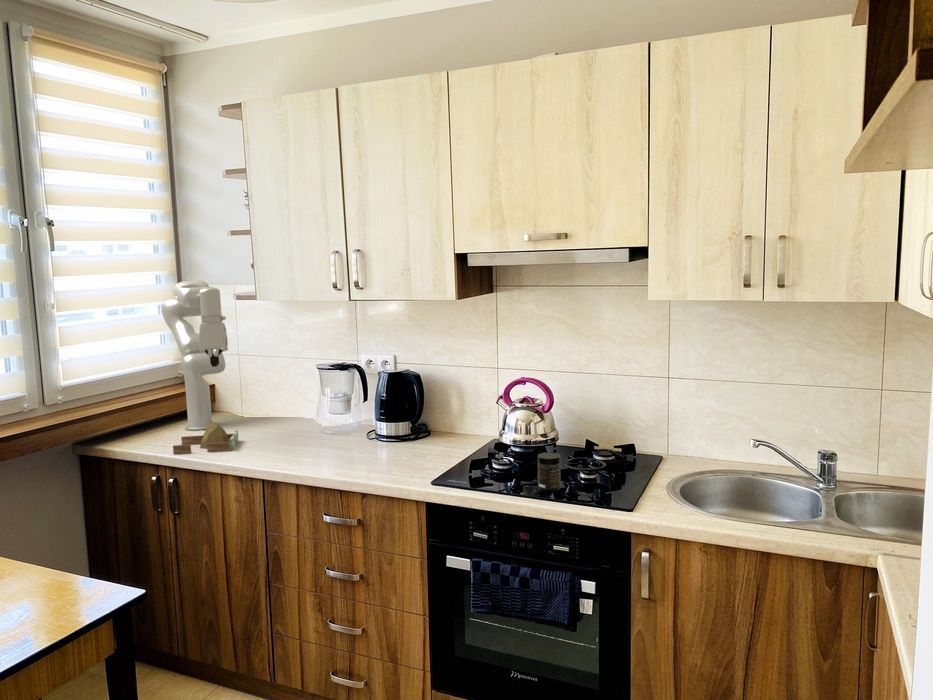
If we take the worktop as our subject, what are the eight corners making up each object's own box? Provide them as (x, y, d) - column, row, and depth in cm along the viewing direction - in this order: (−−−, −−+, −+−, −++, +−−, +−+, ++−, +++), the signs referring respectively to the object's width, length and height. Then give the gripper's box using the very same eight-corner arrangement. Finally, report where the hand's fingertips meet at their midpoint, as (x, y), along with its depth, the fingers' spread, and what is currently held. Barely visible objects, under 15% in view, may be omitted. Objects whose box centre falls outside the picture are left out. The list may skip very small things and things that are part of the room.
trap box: (186, 440, 282) (185, 430, 281) (240, 436, 285) (240, 427, 284) (173, 454, 262) (172, 443, 261) (232, 450, 265) (231, 439, 265)
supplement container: (564, 488, 214) (564, 455, 213) (551, 494, 209) (551, 460, 208) (546, 484, 219) (546, 451, 217) (533, 489, 214) (533, 456, 212)
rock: (239, 439, 273) (222, 432, 278) (228, 424, 267) (211, 418, 272) (219, 460, 267) (203, 453, 272) (208, 446, 261) (191, 439, 267)
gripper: (233, 318, 282) (236, 364, 284) (193, 319, 280) (197, 365, 282) (229, 320, 275) (233, 366, 277) (189, 321, 272) (193, 368, 275)
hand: (215, 366), depth 280 cm, fingers closed
